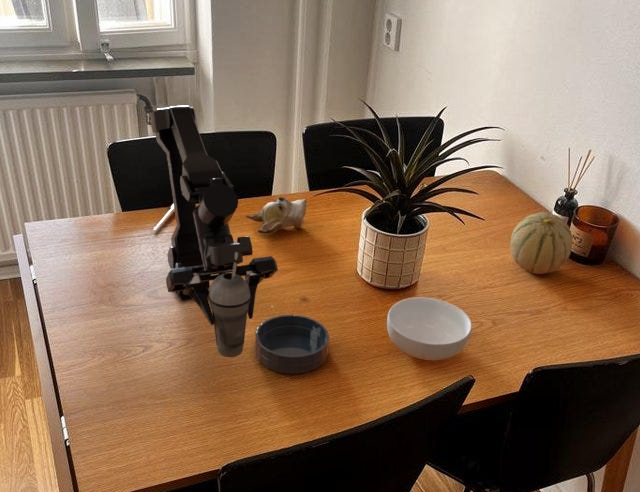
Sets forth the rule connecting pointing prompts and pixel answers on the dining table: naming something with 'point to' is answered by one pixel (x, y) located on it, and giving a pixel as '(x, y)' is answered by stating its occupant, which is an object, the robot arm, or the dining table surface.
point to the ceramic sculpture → (280, 215)
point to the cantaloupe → (541, 243)
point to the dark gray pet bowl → (291, 344)
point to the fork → (164, 218)
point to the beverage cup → (229, 311)
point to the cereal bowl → (428, 328)
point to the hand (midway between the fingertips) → (231, 321)
